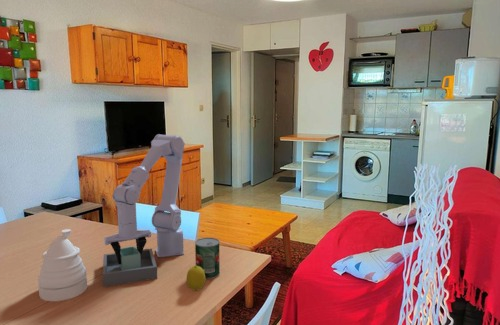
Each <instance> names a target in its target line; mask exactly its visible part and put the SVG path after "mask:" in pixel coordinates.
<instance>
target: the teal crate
mask: <svg viewBox="0 0 500 325" xmlns="http://www.w3.org/2000/svg"><path fill="white" fill-rule="evenodd" d="M120 255H121V264H119V266H120V268H121V269H122V270H128V269H135V268H141V257H140V253H139V251H138V250H137V246H135V245H132V246H131V245H130V246H126V247H121V251H120Z"/></svg>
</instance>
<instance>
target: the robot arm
mask: <svg viewBox="0 0 500 325" xmlns="http://www.w3.org/2000/svg"><path fill="white" fill-rule="evenodd" d="M150 145H151V147H150V148H149V149H148V151H147V153H146V155H145V156H144V158H143V160H142V161H141V163H140V165H139V166H135V167H133V168H131V171H130V173H129V174H128V175H127V177H126V178H125V179H124V181H122V184H119V185H117V186H116V187H115V188H114V191H113V193H112V195H111V196H112V199H113V201H114V202H115V206H116V210H117V225H118V227H117V228H118V230H117V231H118V233H117V234H113V235H110V236H105V237H104V238H103V243H104V245H105V246H108V245H110V246H111V247H112V250H113V252H114V253H115V254H116V257H117V261H118V264H121V255H120V251H121V248H122V247H121V245H120V243H122V242H126V241H132V240H135V244H136V246H135V247H136V249H137V250H138V251H139V253H140V257H141V255H142V251H143V250H144V248H145V246H146V244H147V238H151V237H152V231H151V230H150V229H148V230H138V225H137V223H138V222H137V202H138V201H139V199H140V197H141V196H140V194H141V192H142V188H143V186H144V185H145V184H146V182H147V180H148V179H149V177H150V174H149V172H150V171H151V170H152V168H153V167H154V166H155V164H156V163H157V162H158V161H159V160H160V158H161V157H163V158H165V161H166V166H165V167H166V168H165V175H164V179H163V180H164V181H163V186H162V187H163V188H162V194H161V195H162V196H161V200H160V203H159V204H158V205H157V206H156V207H154V212H153V214H152V217H151V224H152V226H153V227H154V230H155V231H156V244H157V246H156V247H157V248H155V252H156V253H155V254H156V255H157V256H156V258H167V257H173V256H181V255H184V254H185V253H184V251H185V250H184V233H183V229H182V228H181V227H180V226H181V225H182V217H181V215H182V214H181V213H182V210H181V209H180V208H179V207H178V206H177V198H178V192H179V191H178V190H179V185H180V184H179V183H180V179H181V178H180V177H181V170H182V165H183V157H184V150H185V141H184V139H183V138H182V136H180V135H177V134H175V135H171V134H160V133H158V134H156V135H155V136H154V138H153V139H152V140H151V141H150Z"/></svg>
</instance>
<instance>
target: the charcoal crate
mask: <svg viewBox="0 0 500 325" xmlns="http://www.w3.org/2000/svg"><path fill="white" fill-rule="evenodd" d="M102 258H103V259H102V260H103V261H102V262H103V263H102V286H103V288H104V287H105V288H106V287H111V286H117V285H124V284H125V285H126V284H130V283H131V284H132V283H137V282H143V281H149V280H150V281H151V280H157V279H158V268H157V262H156V258H155V255H154V252H153V248H145V249H144V248H143V251H142V255H141V268H135V269H128V270H122V269H121V268H120V266H119V264H118V261H117V257H116V254H115V252H114V253H105V254H103V256H102Z"/></svg>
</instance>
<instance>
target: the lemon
mask: <svg viewBox="0 0 500 325" xmlns="http://www.w3.org/2000/svg"><path fill="white" fill-rule="evenodd" d="M205 283H206V279H205V273H204V270H203V269H202V268H201V267H199V266H197V265H196V264H195V265H193V266H192V267H190V268H189V269H188V271H187V274H186V284H187V286H188V288H189V289H190V290H192V291H194V292H198V291H199V290H201V289H202V288H203V286H204V285H205Z"/></svg>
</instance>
